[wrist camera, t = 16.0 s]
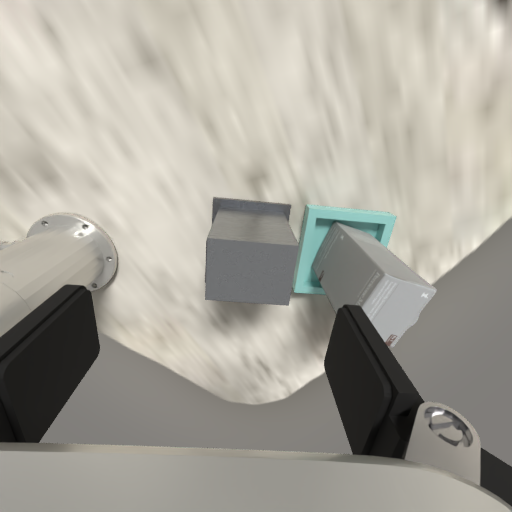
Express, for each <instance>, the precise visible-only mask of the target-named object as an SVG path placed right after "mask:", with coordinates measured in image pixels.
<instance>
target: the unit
mask: <svg viewBox="0 0 512 512" xmlns="http://www.w3.org/2000/svg"><path fill="white" fill-rule="evenodd" d="M290 208H291V205H290V204H281V203H271V202H260V201H250V200H239V199H229V198H218V197H214V198H213V218H212V227H211V230H210V232H209V235H208V237H207V241H206V273H205V283H206V291H205V300H217V301H231V302H245V303H260V304H274V305H288V306H289V301H290V295H291V289H292V284H293V278H294V272H295V267H296V261H297V255H298V250H299V244H298V242H297V240H296V238H295V236H294V234H293V232H292V229H291V227H290V225H289V223H288V221H289V215H290Z"/></svg>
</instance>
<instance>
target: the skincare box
mask: <svg viewBox="0 0 512 512" xmlns="http://www.w3.org/2000/svg"><path fill="white" fill-rule="evenodd" d="M312 268H313V270H314V272H315V274H316V276H317V278H318V280H319V282H320V284H321V286H322V288H323V289H324V291H325V293H326V295H327V297H328V299H329V301H330V303H331V305H332V307H333V309H334V311H335V313H336V315H337V311H338V309H339V308H342V307H343V305H345V304H349V305H359V306H361V307H362V309H363V310H364V312H365V313H366V315H367V316H368V318H369V319H370V321H371V322H372V324H373V325H374V327H375V328H376V330H377V331H378V333H379V334H380V336H381V337H382V339H383V340H384V342H385V343H386V345H387V346H390V347H394V345H395V344H396V342H397V341H398V340H399V339H400V337H401V336H402V335H403V334H404V332H405V331H406V330H407V329H408V328H409V327H411V326H412V325H414V324H415V323H416V322H417V320H418V317H419V313H420V312H421V311H422V310H423V308H424V307H425V306H426V304H427V303H428V302H429V301H430V299H431V298H432V297H433V296H434V294H435V293H436V291H437V290H436V288H434V287H433V286H431V285H430V284H429V283H428V282H426V281H425V280H424V279H423V278H421V277H420V276H419V275H418V274H417V273H415V272H414V271H413V270H412V269H411V268H410V267H408V266H407V265H406V264H405V263H404V262H403V261H401V260H400V259H399V258H398V257H397V256H396V255H394V254H393V253H392V252H391V251H390V250H388V249H387V248H386V247H385V246H384V245H383V244H381V243H380V242H379V241H378V240H377V239H376V238H374V237H373V236H372V235H371V234H369V233H366V232H363V231H361V230H358V229H355V228H352V227H350V226H347V225H344V224H341V223H338V222H336V221H335V222H333V223H332V226H331V228H330V229H329V231H328V233H327V235H326V237H325V239H324V241H323V243H322V244H321V246H320V249H319V251H318V253H317V255H316V257H315V259H314V261H313V264H312Z"/></svg>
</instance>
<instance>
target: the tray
mask: <svg viewBox="0 0 512 512" xmlns="http://www.w3.org/2000/svg"><path fill="white" fill-rule="evenodd" d="M395 220H396V216H394V215H393V214H391V213H389V212H379V211H368V210H358V209H348V208H337V207H327V206H316V205H306V209H305V214H304V220H303V226H302V231H301V237H300V243H299V250H298V255H297V261H296V267H295V272H294V278H293V284H292V287H293V290H294V292H295V293H308V294H322V295H326V293H325V291H324V289H323V288H322V286H321V284H320V282H319V280H318V278H317V276H316V274H315V272H314V270H313V268H312V264H313V261H314V259H315V257H316V255H317V253H318V251H319V249H320V246H321V244H322V243H323V241H324V239H325V237H326V235H327V233H328V231H329V229H330V228H331V226H332V223H333V222H335V221H336V222H338V223H341V224H344V225H347V226H350V227H352V228H355V229H358V230H361V231H363V232H366V233H369V234H371V235H372V236H373V237H374V238H376V239H377V240H378V241H379V242H380V243H381V244H383V245H384V246H385V247H386V248H387V245H388V242H389V239H390V236H391V233H392V229H393V226H394V223H395Z"/></svg>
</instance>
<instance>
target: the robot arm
mask: <svg viewBox="0 0 512 512" xmlns="http://www.w3.org/2000/svg"><path fill="white" fill-rule="evenodd" d="M87 225H88V226H87ZM116 268H117V253H116V250H115V247H114V245H113V243H112V241H111V239H110V238H109V237H108V235H107V234H106V233H105V232H104V231H103V230H102V229H101V228H100V227H99V226H97V225H96V224H95V223H93V222H92V221H90V220H88V219H86V218H84V217H81V216H78V215H75V214H69V213H57V214H52V215H49V216H46V217H43V218H42V219H40V220H38V221H36V222H35V223H34V224H33V225H32V226H31V228H30V230H29V231H28V233H27V237H26V239H24V240H22V241H14V242H13V243H8V242H3V241H0V512H512V467H511V466H509V465H507V464H506V463H505V462H503V461H501V460H500V459H498V458H497V457H495V456H493V455H492V454H490V453H489V452H487V451H486V450H484V449H482V448H481V444H480V440H479V436H478V434H477V433H476V431H475V429H474V428H473V427H472V425H471V424H470V423H469V422H468V421H467V420H466V419H465V418H464V417H463V416H462V415H460V414H459V413H458V412H456V411H454V410H453V409H451V408H450V407H447V406H445V405H443V404H440V403H435V402H424V401H423V399H422V398H421V396H420V395H419V393H418V391H417V390H416V388H415V387H414V386H413V384H412V382H411V381H410V380H409V378H408V376H407V375H406V373H405V372H404V371H403V370H402V367H401V366H400V364H399V363H398V362H397V360H396V358H395V357H394V356H393V354H392V352H391V351H390V350H389V348H388V346H387V345H386V343H385V342H384V340H383V339H382V337H381V336H380V334H379V333H378V331H377V330H376V328H375V327H374V325H373V324H372V322H371V321H370V319H369V318H368V316H367V315H366V313H365V312H364V310H363V309H362V307H361V306H359V305H349V304H345V305H343V307H342V308H339V309H338V311H337V315H336V318H335V322H334V326H333V330H332V333H331V337H330V341H329V345H328V349H327V352H326V356H325V360H324V367H325V371H326V374H327V377H328V380H329V383H330V386H331V389H332V392H333V395H334V398H335V401H336V405H337V408H338V411H339V414H340V417H341V420H342V422H343V426H344V429H345V431H346V435H347V438H348V440H349V444H350V446H351V450H352V452H353V455H350V454H333V453H315V452H290V451H266V450H265V451H264V450H241V449H214V448H213V449H212V448H186V447H156V446H155V447H154V446H126V445H92V444H58V443H57V444H56V443H55V444H54V443H39V442H40V440H41V438H42V437H43V436H44V434H45V433H46V431H47V430H48V428H49V427H50V425H51V424H52V423H53V421H54V420H55V418H56V417H57V415H58V413H59V412H60V411H61V409H62V408H63V406H64V405H65V403H66V402H67V400H68V399H69V398H70V396H71V395H72V393H73V392H74V390H75V389H76V387H77V386H78V384H79V383H80V382H81V380H82V379H83V377H84V376H85V374H86V373H87V371H88V370H89V368H90V367H91V365H92V364H93V362H94V361H95V360H96V358H97V356H98V354H99V351H100V345H99V339H98V332H97V326H96V320H95V314H94V308H93V301H92V295H91V291H95V290H97V289H100V288H101V287H103V286H104V285H106V284H107V283H108V282H109V281H110V279H111V278H112V277H113V275H114V273H115V271H116Z"/></svg>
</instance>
